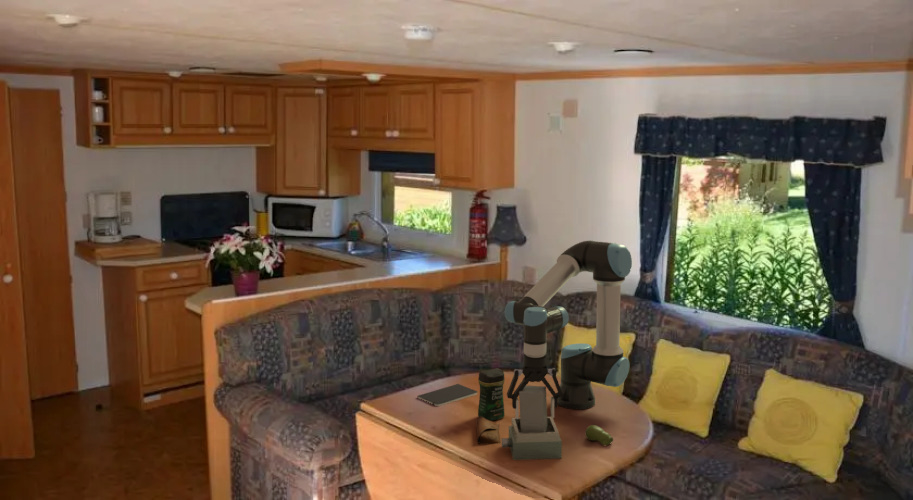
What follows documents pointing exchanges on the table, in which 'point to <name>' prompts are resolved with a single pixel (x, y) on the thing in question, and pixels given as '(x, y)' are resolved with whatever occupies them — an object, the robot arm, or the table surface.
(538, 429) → the skincare box
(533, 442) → the grey open rectangular box
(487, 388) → the coffee jar
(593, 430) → the pear
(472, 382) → the table surface
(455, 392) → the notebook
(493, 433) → the sunglasses case
